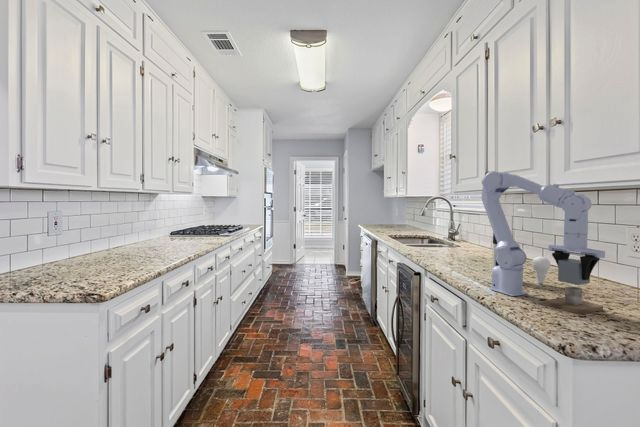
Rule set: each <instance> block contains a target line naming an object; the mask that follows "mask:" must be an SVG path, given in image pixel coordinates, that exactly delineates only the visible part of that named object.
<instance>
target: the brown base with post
mask: <svg viewBox="0 0 640 427" xmlns="http://www.w3.org/2000/svg"><path fill="white" fill-rule="evenodd" d="M564 291H565V292H564V296H563V297H558V298H551V299H545V300H544V305H547V306H550V307H553V308H558V309H560V310H562V311H567V312H570V313H573V314H577V315H584V313H585V314H590V313H593V312H601V311H603V310H604V305H601V304H598V303H597V304H596V303H593V302H589V301H585V300H583V288H582V287H581V288H580V287H578V286H573V285H570V286H565V289H564ZM589 312H590V313H589Z"/></svg>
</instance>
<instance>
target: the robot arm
mask: <svg viewBox="0 0 640 427" xmlns="http://www.w3.org/2000/svg"><path fill="white" fill-rule="evenodd" d="M481 185H482V190H481V201H482V205H483V207H484V210H485V213H486V215H487V218H488V220H489V223H490V226H491V229H492V231H493V232H494V235H495V238H496V240H497V246H496V249H495V250H496V253H497V256H496V260H497V263H498V264H499V265H500V266H495V267H494V268H493V270H492V269H491V287H490V288H489V290H491V291H494V292H496V293H501V294H504V295H506V296H507V295H508V296H511V297H516V296H517V297H518V296H523V295H529V292H528V291H523V290H524V289H523V285H524V284H523V282H524V280H523V279H524V266H523V265H524V264H525V263H527V254H526V252H525V250H523V249H522V248H521V246H520V243H519V242H517V241H516V240H515V238H514V236H513V234H512V231H511V228H510V226H509V223H508V220H507V218H506V215H505V212H504V210H503V207H502V204H501V202H500V199H501V196H503V194H504V193H505V192H506V191H508V190H509V189H510V188H514V187H517V188H519V189H522V190H524V191H527V192H530V193H533V194H536V195H537V196H538V198H539V200H540V201H542V202H544V203H547V204H550V205H552V206H555V207H557V208H560V209H562V210H563V211H564V219H563V221H564V222H563V245H559V244H548V251H549V252H552V253H551V256H552V257H553V259H554V260H555V262H556V265H557V266H558V260H563V259H570V255H572V254H573V255H580V256H579V260H581V264H582V280H589V277H590V278H591V274H592V272H593V270H594V268H595V266H596V265H597V263H598V262H599V261H600V259H604V258H606V250H600V249H593V248H588V235H589V234H588V233H589V210H590V209H591V208H592V201H591V199H590V198H589V197H588V196H586V195H585V194H581V193H579V194H575V193H576V191H575V190H567V189H564V188H562V187H560V185H559V184H557V183H553V184H551V183H549V184H548V183H547V184H545V185H542V184H540V183H537V182H535V181H532V180H531V179H527V178H525V177H523V176H520V175H517V174H512V173H509V172H505V171H504V172H500V171H495V170H491V171H489V172H487V173H486V174H485V175H484V177H483V179H482V180H481ZM493 232H492V233H493Z"/></svg>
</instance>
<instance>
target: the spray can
mask: <svg viewBox="0 0 640 427" xmlns="http://www.w3.org/2000/svg"><path fill="white" fill-rule="evenodd" d="M492 233H493V234H492V259H491V260H492V261H491V263H492V265H491V271H492V270H493V268H494V267H495V266H500V265H499V264H498V263H497V260H496V256H497V253H496V250H495V249H496V246H497V240H496V238H495V235H494V232H492Z"/></svg>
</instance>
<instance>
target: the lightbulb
mask: <svg viewBox="0 0 640 427" xmlns="http://www.w3.org/2000/svg"><path fill="white" fill-rule="evenodd" d="M531 266H532V268H533V270H534V271H535V277H536V283H538V284H539V285H543V284H545V281H546V277H547V273H548V272H549V270H550V269H551V267H552V264H551V261H550V260H549V259H548V258H547V257H545V256H537V257H535V258H533V260H532V262H531Z"/></svg>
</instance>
